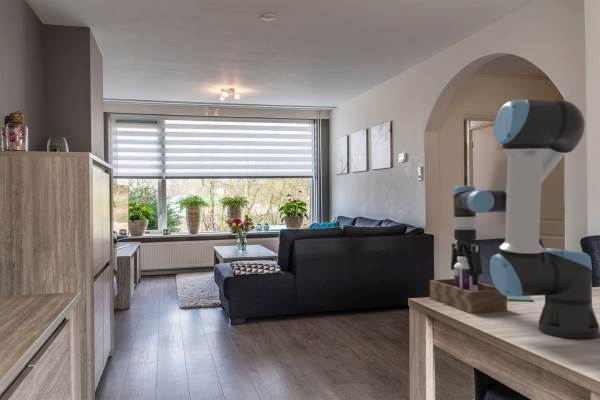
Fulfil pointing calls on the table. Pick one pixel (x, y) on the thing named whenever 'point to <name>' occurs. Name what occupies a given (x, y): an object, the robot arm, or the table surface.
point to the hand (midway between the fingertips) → (466, 292)
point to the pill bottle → (462, 273)
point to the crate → (468, 297)
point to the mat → (520, 298)
